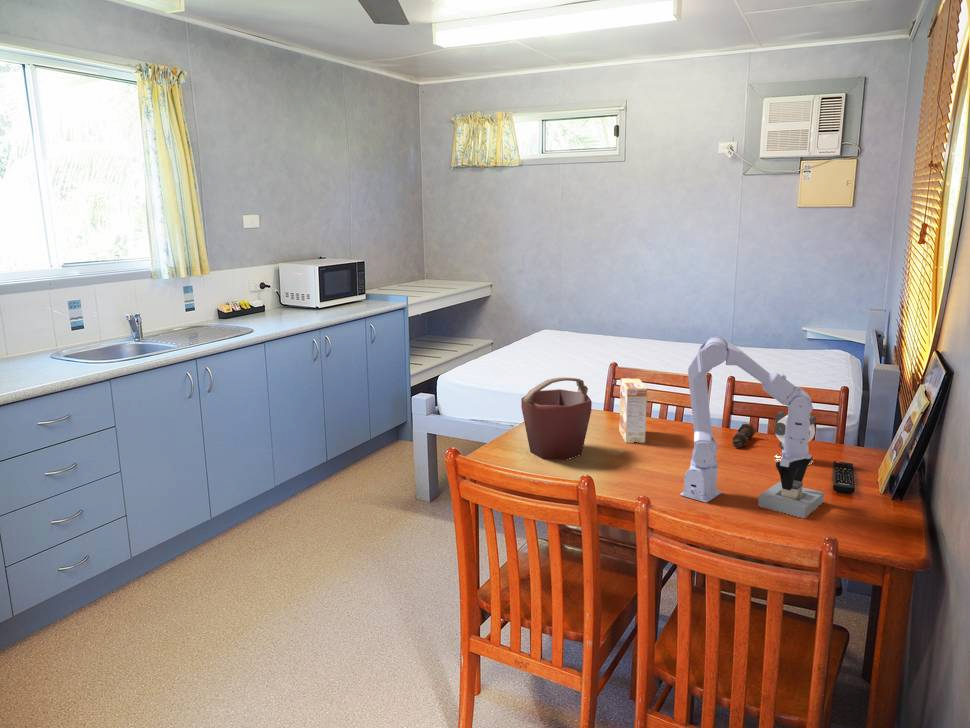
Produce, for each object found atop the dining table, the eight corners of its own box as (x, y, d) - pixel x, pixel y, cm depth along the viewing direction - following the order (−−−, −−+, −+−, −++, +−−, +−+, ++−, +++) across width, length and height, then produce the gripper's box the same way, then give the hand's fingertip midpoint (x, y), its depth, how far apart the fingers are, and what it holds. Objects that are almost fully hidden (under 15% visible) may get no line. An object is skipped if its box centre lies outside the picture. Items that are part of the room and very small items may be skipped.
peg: (795, 507, 187) (797, 486, 186) (780, 503, 190) (782, 482, 189) (801, 503, 190) (802, 482, 189) (786, 499, 193) (787, 478, 191)
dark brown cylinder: (734, 454, 236) (744, 440, 248) (748, 449, 233) (757, 435, 246) (726, 438, 237) (736, 425, 249) (739, 433, 234) (749, 420, 246)
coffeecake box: (618, 430, 257) (620, 378, 253) (638, 430, 257) (640, 378, 253) (624, 443, 242) (626, 388, 238) (645, 443, 242) (647, 388, 238)
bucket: (579, 439, 247) (580, 369, 242) (605, 459, 226) (607, 383, 221) (512, 445, 241) (512, 374, 236) (533, 467, 220) (533, 389, 215)
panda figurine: (766, 460, 224) (770, 415, 221) (779, 451, 232) (782, 407, 229) (806, 469, 216) (810, 422, 213) (817, 459, 225) (821, 414, 222)
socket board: (804, 519, 181) (805, 508, 180) (758, 506, 189) (758, 495, 188) (823, 502, 191) (824, 492, 190) (778, 491, 199) (779, 481, 198)
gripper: (801, 446, 178) (797, 496, 181) (822, 433, 188) (817, 481, 191) (774, 440, 183) (769, 489, 186) (795, 428, 193) (790, 475, 196)
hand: (792, 485), depth 189 cm, fingers open, 7 cm apart
